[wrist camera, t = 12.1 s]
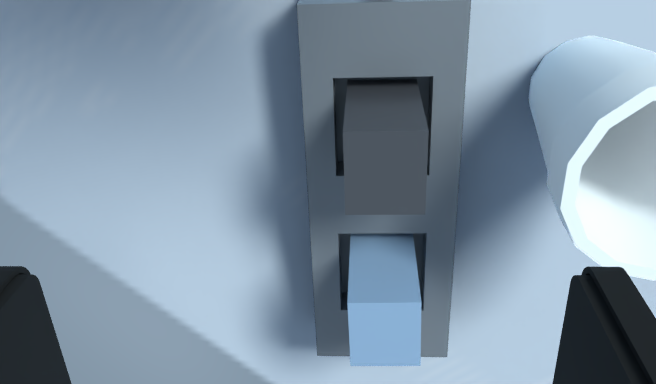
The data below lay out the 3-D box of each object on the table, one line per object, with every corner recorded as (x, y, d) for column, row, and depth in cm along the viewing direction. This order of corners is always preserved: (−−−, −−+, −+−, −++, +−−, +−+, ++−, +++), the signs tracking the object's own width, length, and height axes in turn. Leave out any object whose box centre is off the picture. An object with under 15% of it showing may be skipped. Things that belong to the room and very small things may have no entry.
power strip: (296, -125, 33) (272, -123, 24) (469, -132, 32) (505, -132, 24) (320, 323, 47) (310, 423, 38) (441, 324, 46) (458, 426, 38)
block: (350, 227, 41) (347, 303, 34) (412, 226, 41) (421, 302, 34) (353, 283, 43) (350, 365, 36) (411, 283, 43) (420, 365, 36)
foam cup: (481, 141, 39) (528, 255, 28) (532, -7, 35) (613, 54, 23) (625, 172, 40) (731, 296, 28) (693, 29, 35) (851, 106, 24)
